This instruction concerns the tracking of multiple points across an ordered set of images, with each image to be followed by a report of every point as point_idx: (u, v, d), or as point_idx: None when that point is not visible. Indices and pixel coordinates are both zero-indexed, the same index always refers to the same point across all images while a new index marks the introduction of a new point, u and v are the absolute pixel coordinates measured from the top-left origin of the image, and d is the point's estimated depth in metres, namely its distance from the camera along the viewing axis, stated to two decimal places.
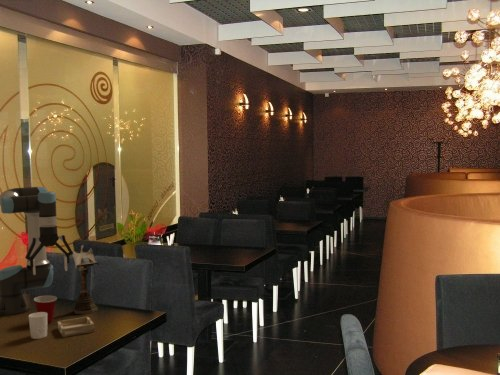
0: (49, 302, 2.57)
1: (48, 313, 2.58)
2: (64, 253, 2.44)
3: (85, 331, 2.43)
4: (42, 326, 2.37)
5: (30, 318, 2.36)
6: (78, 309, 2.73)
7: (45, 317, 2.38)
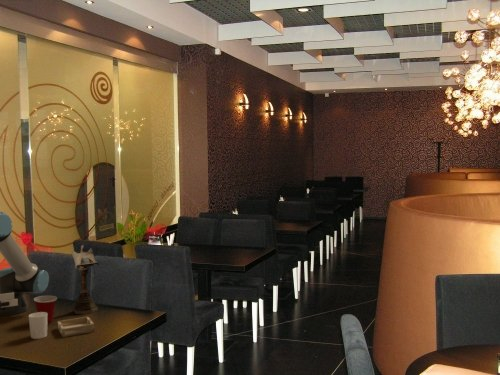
0: (49, 302, 2.57)
1: (47, 313, 2.58)
2: None
3: (85, 331, 2.43)
4: (42, 326, 2.37)
5: (30, 318, 2.36)
6: (78, 309, 2.73)
7: (45, 317, 2.38)
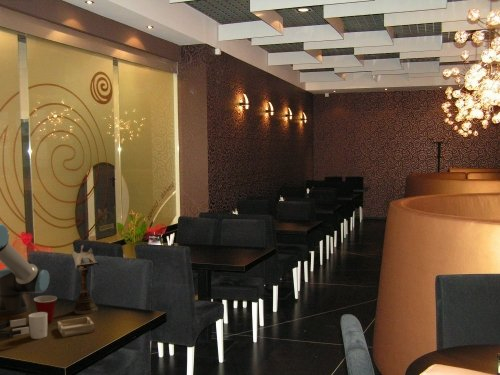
0: (49, 302, 2.57)
1: (48, 313, 2.58)
2: None
3: (85, 331, 2.43)
4: (42, 326, 2.37)
5: (30, 318, 2.36)
6: (78, 309, 2.73)
7: (45, 317, 2.38)
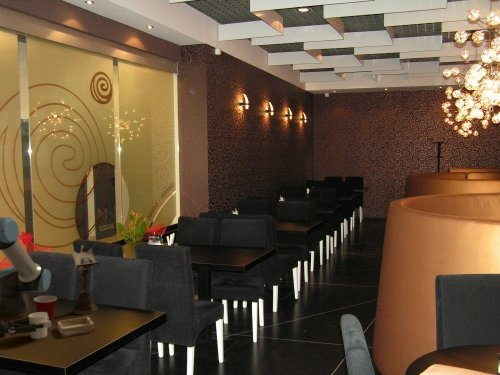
0: (49, 302, 2.57)
1: (47, 313, 2.58)
2: None
3: (85, 331, 2.43)
4: None
5: (30, 318, 2.36)
6: (78, 309, 2.73)
7: (45, 317, 2.38)
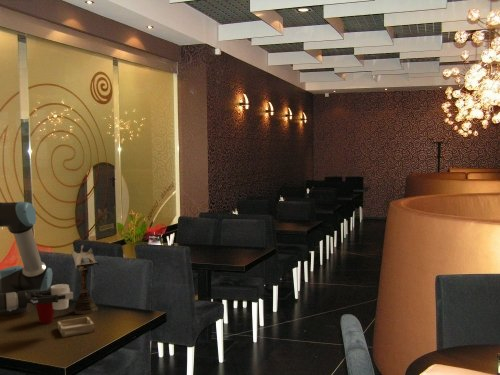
0: None
1: (47, 313, 2.58)
2: None
3: (85, 331, 2.43)
4: None
5: (52, 289, 2.39)
6: (78, 309, 2.73)
7: (67, 289, 2.41)
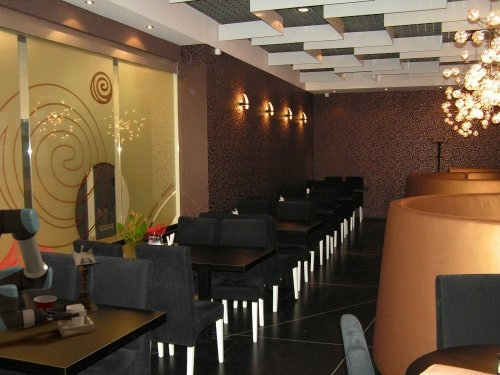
0: (49, 302, 2.57)
1: None
2: None
3: (85, 331, 2.43)
4: (79, 318, 2.44)
5: (68, 310, 2.43)
6: None
7: (82, 309, 2.45)
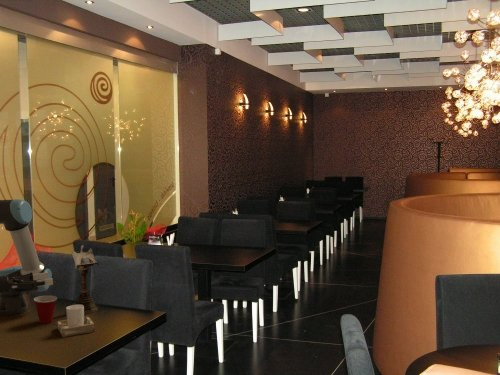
0: (49, 302, 2.57)
1: (48, 313, 2.58)
2: None
3: (85, 331, 2.43)
4: (79, 318, 2.44)
5: (68, 310, 2.43)
6: None
7: (82, 309, 2.45)
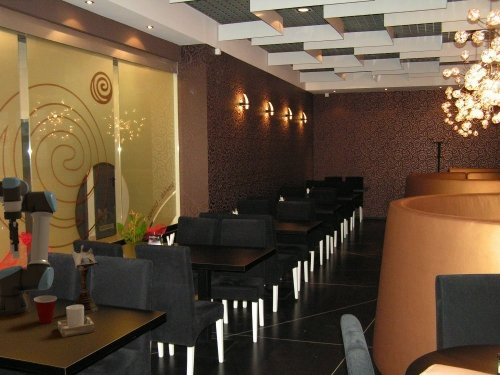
0: (49, 302, 2.57)
1: (47, 313, 2.58)
2: (12, 240, 2.42)
3: (85, 331, 2.43)
4: (79, 318, 2.44)
5: (68, 310, 2.43)
6: None
7: (82, 309, 2.45)
